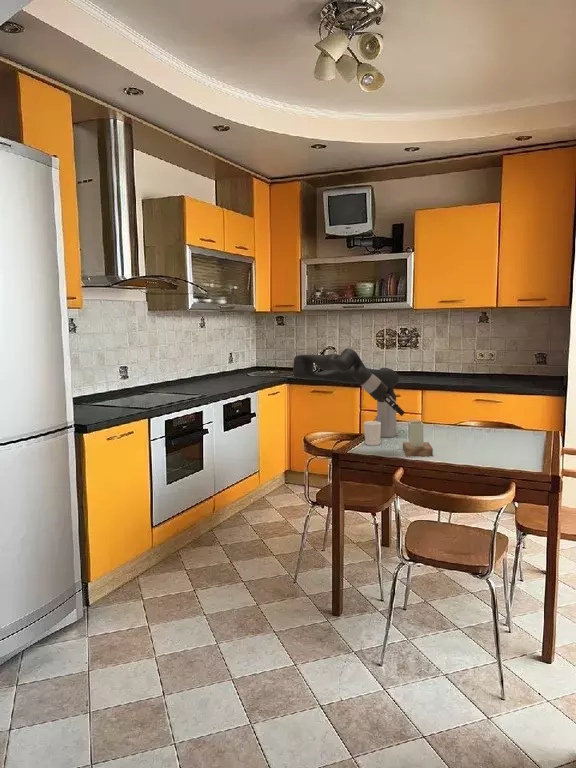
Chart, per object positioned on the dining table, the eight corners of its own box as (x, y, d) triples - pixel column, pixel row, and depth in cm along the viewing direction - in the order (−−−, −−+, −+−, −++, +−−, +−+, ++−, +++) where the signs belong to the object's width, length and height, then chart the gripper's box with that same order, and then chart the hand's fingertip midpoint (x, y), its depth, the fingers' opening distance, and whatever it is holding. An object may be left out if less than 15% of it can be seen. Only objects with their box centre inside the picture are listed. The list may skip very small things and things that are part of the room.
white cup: (364, 445, 261) (363, 424, 260) (364, 441, 269) (363, 421, 268) (381, 445, 260) (381, 424, 259) (381, 441, 268) (380, 420, 267)
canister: (410, 447, 242) (410, 422, 241) (408, 444, 248) (408, 419, 246) (423, 446, 242) (423, 421, 241) (421, 443, 247) (421, 419, 246)
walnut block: (406, 457, 241) (406, 448, 240) (402, 451, 252) (402, 442, 251) (432, 457, 240) (432, 448, 239) (428, 451, 251) (428, 442, 250)
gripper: (366, 390, 249) (392, 415, 251) (370, 395, 235) (398, 422, 237) (378, 378, 248) (404, 403, 250) (382, 382, 234) (411, 409, 236)
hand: (401, 412), depth 243 cm, fingers open, 8 cm apart
